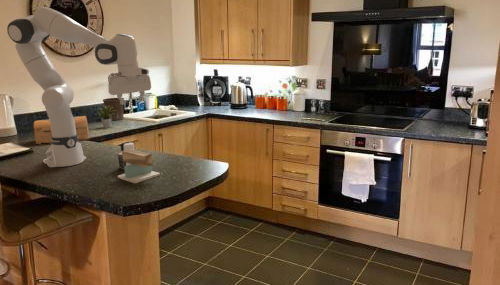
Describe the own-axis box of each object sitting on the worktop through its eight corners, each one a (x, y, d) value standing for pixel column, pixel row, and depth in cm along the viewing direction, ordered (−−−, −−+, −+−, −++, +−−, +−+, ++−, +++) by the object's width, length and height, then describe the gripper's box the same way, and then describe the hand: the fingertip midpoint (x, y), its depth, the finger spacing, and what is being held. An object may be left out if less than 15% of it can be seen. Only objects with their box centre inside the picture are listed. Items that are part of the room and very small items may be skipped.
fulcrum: (117, 177, 184) (116, 164, 183) (142, 170, 194) (141, 157, 192) (135, 183, 176) (133, 169, 174) (160, 175, 185) (159, 162, 184)
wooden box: (89, 134, 279) (86, 114, 276) (88, 139, 264) (85, 118, 260) (39, 139, 270) (36, 118, 266) (35, 145, 254) (32, 122, 251)
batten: (144, 167, 177) (143, 156, 176) (123, 161, 187) (122, 150, 186) (152, 165, 180) (151, 153, 179) (130, 159, 190) (129, 148, 189)
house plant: (106, 130, 291) (103, 106, 287) (91, 129, 296) (88, 106, 293) (121, 126, 303) (118, 103, 299) (106, 125, 309) (104, 103, 305)
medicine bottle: (119, 167, 200) (116, 143, 197) (132, 164, 204) (130, 140, 202) (126, 170, 195) (123, 145, 192) (140, 167, 199) (137, 142, 197)
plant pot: (123, 120, 325) (120, 100, 321) (102, 121, 325) (99, 100, 321) (128, 117, 341) (126, 97, 337) (108, 117, 340) (106, 98, 337)
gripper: (111, 73, 176) (115, 106, 179) (151, 69, 191) (154, 100, 194) (103, 73, 180) (107, 105, 183) (143, 69, 195) (146, 99, 198)
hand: (132, 102), depth 189 cm, fingers open, 8 cm apart
